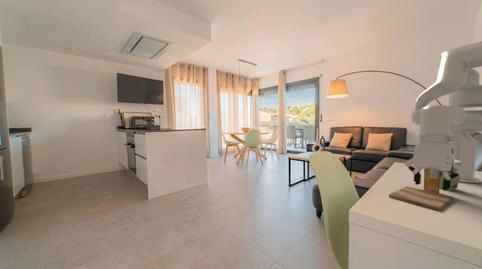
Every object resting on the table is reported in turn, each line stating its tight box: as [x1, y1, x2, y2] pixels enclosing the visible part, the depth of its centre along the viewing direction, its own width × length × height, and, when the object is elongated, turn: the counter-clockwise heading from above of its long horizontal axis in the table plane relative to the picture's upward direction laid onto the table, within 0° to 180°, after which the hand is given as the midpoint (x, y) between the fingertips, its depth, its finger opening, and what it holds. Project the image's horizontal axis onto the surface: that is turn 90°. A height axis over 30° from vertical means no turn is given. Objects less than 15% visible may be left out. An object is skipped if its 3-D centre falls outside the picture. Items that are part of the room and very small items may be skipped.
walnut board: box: [388, 186, 454, 212], centre depth 62 cm, size 16×12×1 cm
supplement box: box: [423, 167, 440, 194], centre depth 67 cm, size 3×3×10 cm
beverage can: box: [439, 159, 462, 191], centre depth 71 cm, size 6×7×12 cm
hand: (431, 186), depth 67 cm, fingers open, 6 cm apart
